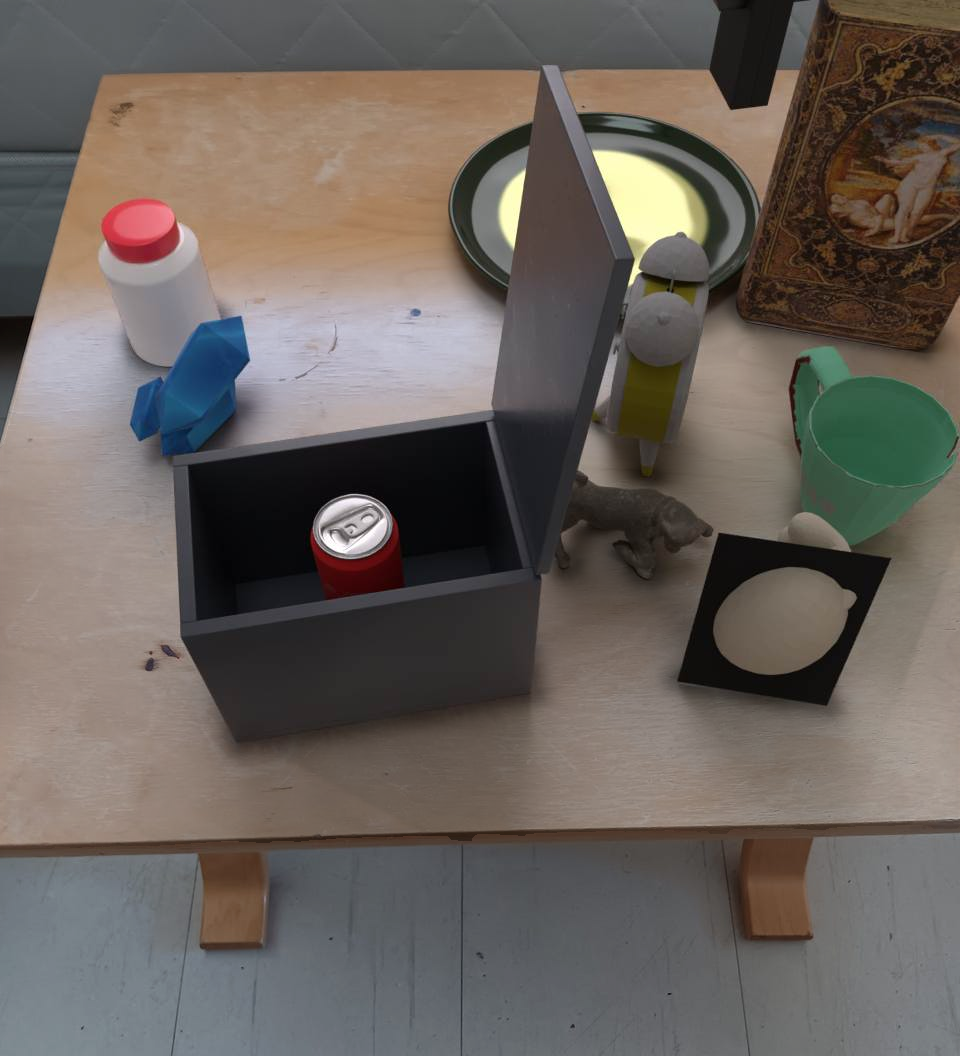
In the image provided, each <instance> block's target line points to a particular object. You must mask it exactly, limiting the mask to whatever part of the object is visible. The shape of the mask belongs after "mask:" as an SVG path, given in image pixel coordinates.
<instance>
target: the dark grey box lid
mask: <svg viewBox="0 0 960 1056" xmlns="http://www.w3.org/2000/svg"><path fill="white" fill-rule="evenodd" d="M539 70H540V71H539V77H538V85H537V90H536V91H537V92H536V97H535V98H536V99H535V105H534V112H533V120H532V121H533V125H532V131H531V138H530V145H529V152H528V158H527V165H526V172H525V179H524V186H523V192H522V199H521V206H520V213H519V219H518V226H517V233H516V240H515V246H514V253H513V260H512V267H511V274H510V280H509V287H508V291H507V294H506V301H505V309H504V314H503V323H502V328H501V334H500V335H501V336H500V342H499V347H498V348H499V349H498V350H499V351H498V356H497V363H496V369H495V376H494V383H493V389H492V396H491V402H490V403H491V410H493V413H494V416H495V420H496V424H497V428H498V432H499V436H500V439H501V443H502V447H503V451H504V455H505V459H506V462H507V466H508V470H509V474H510V478H511V482H512V485H513V489H514V493H515V497H516V501H517V505H518V508H519V512H520V516H521V520H522V524H523V528H524V531H525V535H526V539H527V543H528V547H529V551H530V554H531V558H532V562H533V566H534V570H535V573H536V575H540V574H541V575H549V574H550V572H551V568H552V564H553V562H554V557H555V555H554V554H555V550H556V547H557V543H558V540H559V536H560V532H561V529H562V525H563V521H564V518H565V514H566V510H567V507H568V503H569V499H570V496H571V492H572V488H573V485H574V481H575V477H576V474H577V470H579V466H580V463H581V459H582V455H583V451H584V448H585V444H586V441H587V437H588V433H589V429H590V427H591V422H592V415H593V412H594V410H595V409H596V404H597V401H598V397H599V393H600V389H601V386H602V382H603V379H604V376H605V375H604V374H605V371H606V367H607V364H608V360H609V356H610V353H611V350H612V346H613V341H614V339H615V334H616V331H617V327H618V323H619V319H620V318H621V317H620V313H621V309H622V306H623V302H624V298H625V295H626V291H627V287H628V284H629V280H630V276H631V273H632V269H633V265H634V262H635V258H634V256H633V253H632V250H631V248H630V245H629V243H628V240H627V238H626V235H625V233H624V230H623V228H622V225H621V223H620V220H619V218H618V215H617V213H616V210H615V208H614V205H613V202H612V200H611V197H610V195H609V192H608V190H607V187H606V185H605V182H604V180H603V177H602V175H601V172H600V170H599V167H598V165H597V162H596V160H595V157H594V155H593V152H592V149H591V147H590V144H589V142H588V139H587V137H586V134H585V132H584V129H583V127H582V124H581V122H580V119H579V117H578V114H577V113H578V112H577V110H576V109H577V108H576V106H575V104H574V101H573V99H572V97H571V94H570V91H569V89H568V87H567V84H566V81H565V79H564V76H563V74H562V71H561V68H560V66H559V65H558V64H544V65H543V64H541V67H540V69H539Z"/></svg>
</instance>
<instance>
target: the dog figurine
mask: <svg viewBox="0 0 960 1056" xmlns="http://www.w3.org/2000/svg"><path fill="white" fill-rule="evenodd" d="M582 520H584V521H586V522H587V523H588V524H590V525H592V526H594V527H595V528H598V529H602V530H606V531H614V532H622V533H624V535H625V538H626V540H624V539H618V540H617V541H615V542H612V547H613V548H614V550H615V551H616V552H617V554H618V555H619V557H621V558H622V559H623V560H624V561H625V562H626V563H628V564H629V565H631V566H632V567H634V569H635V573H636V574H638V575H639V576H640V577H641V578H643V579H647V580H649V579H651V578H652V577H653V576H654V575H655V572H654V571H653V569H654V568H655V567H656V565H657V564H658V556H657V554H656V549H655V545H654V540H656V539H660V538H663V546H664V549H665V550H666V551H667V552H668V553H671V554H677V553H679V551H681V549H682V548H684V547H687V546H689V545H691V544H693V543H695V542H696V541H697V540H698V539H699V538H700V537H702V538H710V537H712V536H713V534H714V530H715V529H714V528H713V526H712V525H711V524H708V523H707V522H705V521H704V520H703V519H701V518H700V517H698V516H697V515H696V514H695V512H694V511H693V510H692V509H691V508H690V507H689V506H687V504H686V503H683V502H681V501H679V500H677V499H676V497H673V496H671V495H666V494H664V493H662V492H660V491H658V490H656V489H652V488H622V487H615V486H604V485H603V486H602V485H597V484H596V483H594V482H592V480H590V479H589V477H588V475H586V474H585V473H584V472H582V471H581V470H579V469H578V470H577V474H576V477H575V481H574V485H573V488H572V492H571V496H570V499H569V503H568V507H567V510H566V514H565V518H564V521H563V525H562V529H561V532H560V536H559V540H558V543H557V547H556V550H555V554H554V557H555V558H556V561H557V564H558V567H560V568H561V569H567V568H569V567H570V565H571V560H572V559H571V557H570V555H569V554H568V552H566V551H565V546H564V544H563V541H562V540H563V539H562V534H563V533H564V532H566V531H568V530H570V529H571V528H573V527H575V526H576V525H577V524H579V522H580V521H582Z"/></svg>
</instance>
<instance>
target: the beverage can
mask: <svg viewBox="0 0 960 1056" xmlns="http://www.w3.org/2000/svg"><path fill="white" fill-rule="evenodd" d="M311 545H312V549H313V553H314V557H315V561H316V565H317V569H318V573H319V577H320V581H321V584H322V588H323V592H324V596H325V600H332V599H339V598H345V597H351V596H357V595H364V594H370V593H376V592H382V591H389V590H395V589H401V588H405V582H404V573H403V565H402V557H401V549H400V541H399V532H398V527H397V523H396V521H395V519H394V517H393V516H392V515H391V513H390V512H389V510H388V509H387V507H386V506H385V505H384V504H383V503H381V502H380V501H378V500H377V499H375V498H372V497H370V496H366V495H360V494H350V495H345V496H341V497H338V498H335V499H333V500H332V501H330V502H328V503H327V504H326V505H324V506H323V507H322V508H321V509H320V511H319V512H318V513H317V515H316V517H315V519H314V522H313V527H312V531H311Z"/></svg>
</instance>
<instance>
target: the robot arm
mask: <svg viewBox="0 0 960 1056" xmlns="http://www.w3.org/2000/svg"><path fill="white" fill-rule="evenodd" d="M808 1H810V0H712V2H713V3H714V5H715V6H716V8H717V10H718V12H720V13H719V18H718V22H717V28H716V33H715V38H714V43H713V48H712V54H711V59H710V64H709V68H708V70H709V73H710V74H711V76H712V78H713V80H714V82H715V84H716V85H717V89H718V90H719V91H720V94H721V95H722V97H723V99H724V101H725V102H726V105H727V107H728V109H729V110H730V111H734V110H735V111H736V110H745V109H752V108H759V107H760V108H761V107H767V106H769V102H770V98H771V94H772V90H773V86H774V83H775V79H776V75H777V70H778V67H779V63H780V59H781V55H782V50H783V47H784V43H785V40H786V35H787V32H788V28H789V23H790V19H791V15H792V11H793V7H794V3H801V2H808Z"/></svg>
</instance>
